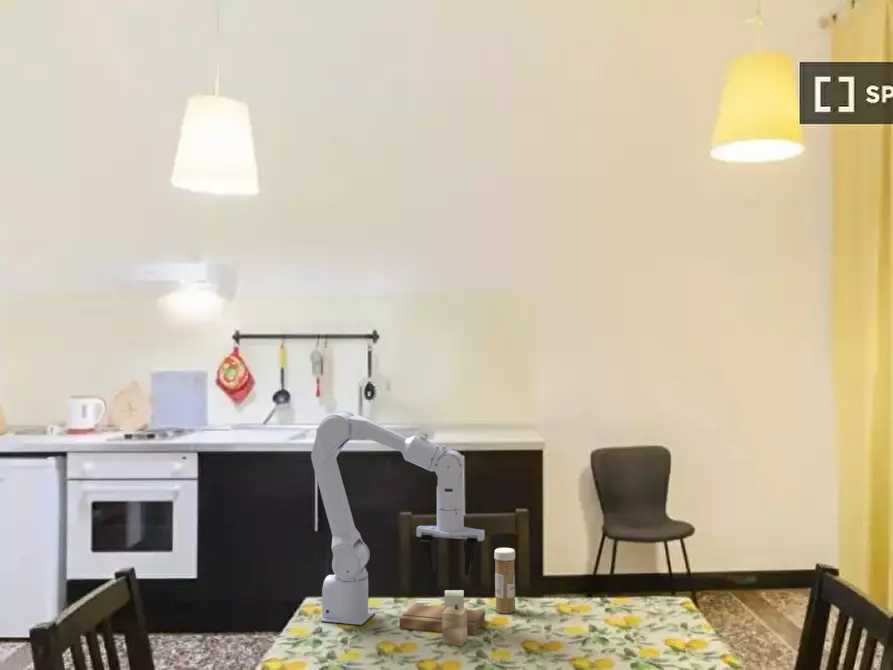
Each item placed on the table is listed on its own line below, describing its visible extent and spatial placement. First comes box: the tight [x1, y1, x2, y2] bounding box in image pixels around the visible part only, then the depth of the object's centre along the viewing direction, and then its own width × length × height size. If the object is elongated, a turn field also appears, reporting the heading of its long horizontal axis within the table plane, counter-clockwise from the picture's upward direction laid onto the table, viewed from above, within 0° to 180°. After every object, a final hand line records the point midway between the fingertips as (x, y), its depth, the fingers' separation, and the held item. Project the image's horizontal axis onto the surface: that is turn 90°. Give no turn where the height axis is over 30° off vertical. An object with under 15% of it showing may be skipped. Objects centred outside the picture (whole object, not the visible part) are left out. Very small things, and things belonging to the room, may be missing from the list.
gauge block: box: [441, 604, 468, 647], centre depth 157 cm, size 4×4×7 cm
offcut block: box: [444, 589, 465, 609], centre depth 168 cm, size 4×4×4 cm
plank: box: [399, 604, 486, 636], centre depth 167 cm, size 16×9×2 cm, turn 74°
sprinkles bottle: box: [493, 547, 516, 615], centre depth 175 cm, size 5×5×14 cm
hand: (450, 572), depth 168 cm, fingers open, 7 cm apart
